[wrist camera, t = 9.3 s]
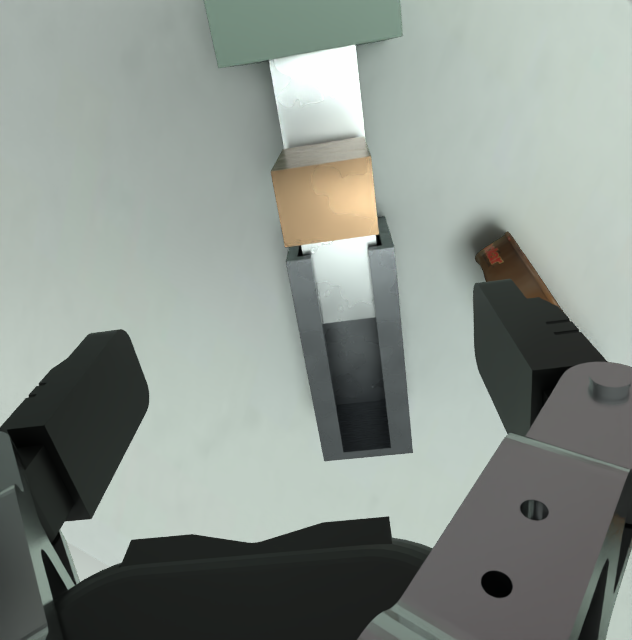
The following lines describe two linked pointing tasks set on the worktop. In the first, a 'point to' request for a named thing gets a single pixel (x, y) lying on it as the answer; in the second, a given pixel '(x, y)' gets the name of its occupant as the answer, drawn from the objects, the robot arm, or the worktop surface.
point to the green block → (296, 27)
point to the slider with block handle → (326, 177)
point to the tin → (512, 268)
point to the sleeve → (355, 361)
